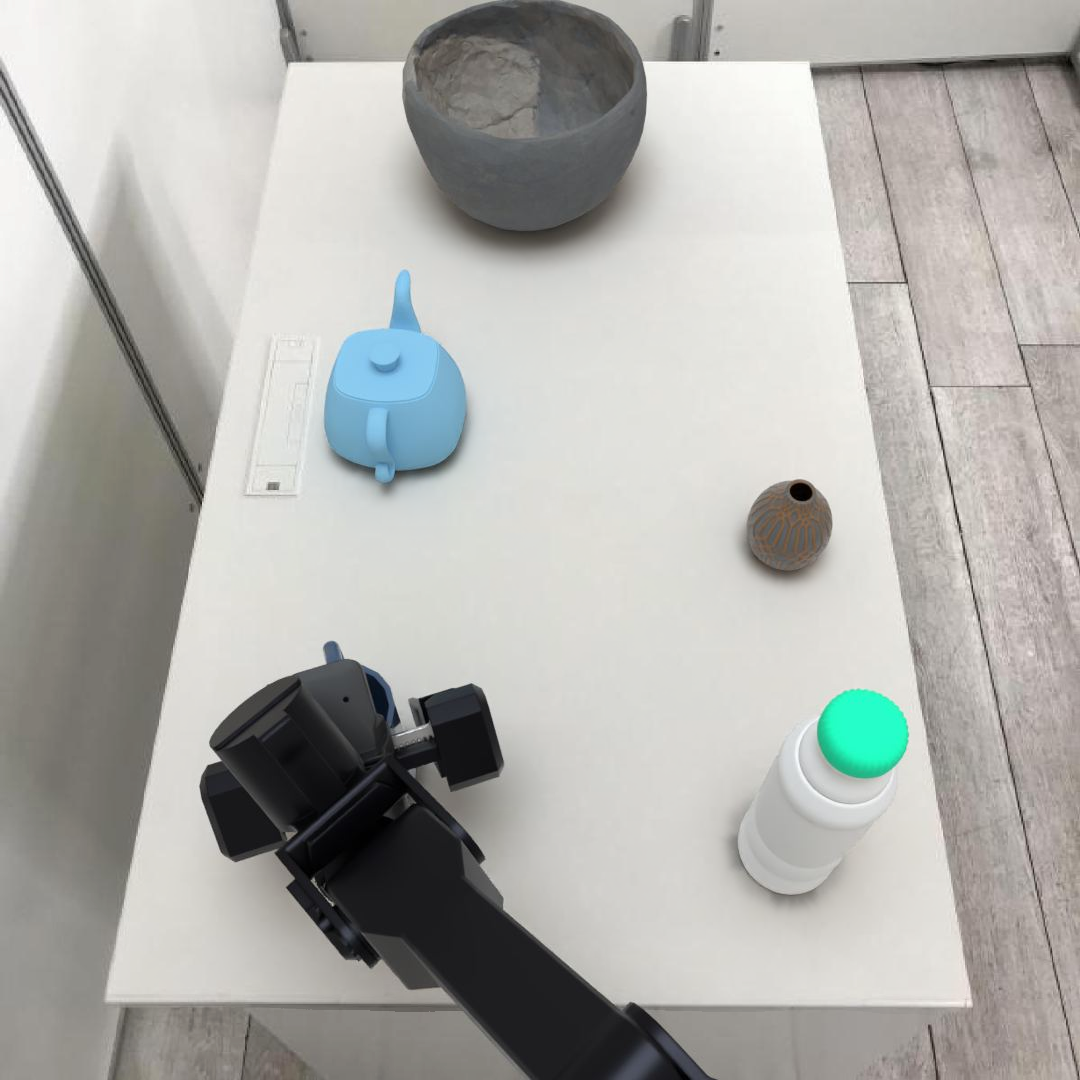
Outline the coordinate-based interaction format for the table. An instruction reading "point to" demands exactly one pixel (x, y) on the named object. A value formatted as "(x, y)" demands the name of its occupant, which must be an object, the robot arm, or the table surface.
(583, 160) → the bowl
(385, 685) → the mug
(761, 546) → the vase
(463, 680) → the table surface
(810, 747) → the water bottle
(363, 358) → the teapot
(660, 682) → the table surface
